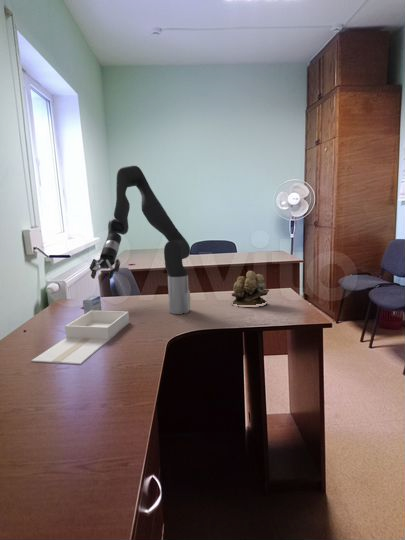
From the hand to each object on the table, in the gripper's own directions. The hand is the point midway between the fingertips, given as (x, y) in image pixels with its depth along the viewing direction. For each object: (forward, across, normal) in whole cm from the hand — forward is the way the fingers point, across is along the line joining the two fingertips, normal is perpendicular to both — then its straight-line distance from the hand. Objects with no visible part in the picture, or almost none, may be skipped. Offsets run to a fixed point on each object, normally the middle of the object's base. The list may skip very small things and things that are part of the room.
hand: (101, 278), depth 159 cm
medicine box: (+18, 0, +4) cm, 19 cm away
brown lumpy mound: (+1, +70, +20) cm, 73 cm away
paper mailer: (+37, +12, -15) cm, 42 cm away
